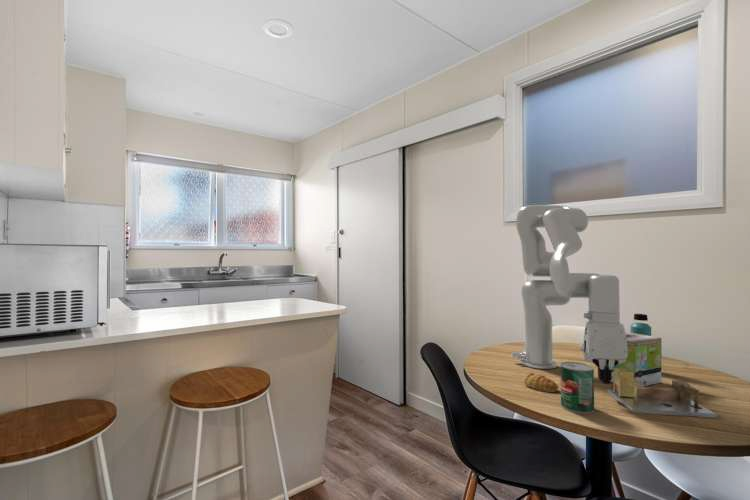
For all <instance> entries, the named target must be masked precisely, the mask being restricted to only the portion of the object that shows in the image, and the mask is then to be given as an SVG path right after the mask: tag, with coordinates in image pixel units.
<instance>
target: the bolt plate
mask: <svg viewBox="0 0 750 500" xmlns="http://www.w3.org/2000/svg"><path fill="white" fill-rule="evenodd" d="M607 394H608V395H609V396H611V397H612V398H614V400H616V401H617V402H619V403H620V404H621V405H623V407H625V408H627V410H629V412H630V411H631V412H632V413H635V414H636V413H637V414H638V413H639V414H650V415H666V416H667V415H668V416H680V417H681V416H683V417H695V418H696V417H697V418H711V419H713V418H714V419H717V418H718V415H717V413H716V412H714V411H712V410H710V409H709V408H707V407H705V406H703V405H701V404H699V403H698V407H694V400H692V399H691V401H680V400H677V399H660V398H643V397H637V403H636V402H633V397H626V396H619V395H618V394H616V392H614V389H607Z"/></svg>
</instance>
